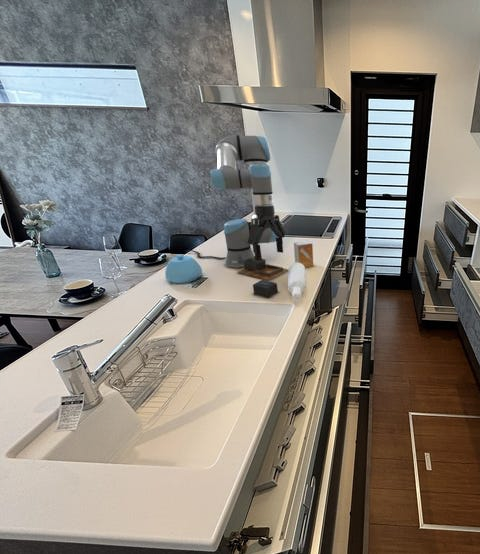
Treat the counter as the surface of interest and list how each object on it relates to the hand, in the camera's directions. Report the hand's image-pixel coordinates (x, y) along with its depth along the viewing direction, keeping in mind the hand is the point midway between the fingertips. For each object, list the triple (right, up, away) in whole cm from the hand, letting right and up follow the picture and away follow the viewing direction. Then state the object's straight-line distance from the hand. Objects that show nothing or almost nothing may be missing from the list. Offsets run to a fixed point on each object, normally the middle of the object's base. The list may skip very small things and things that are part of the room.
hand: (269, 256), depth 129 cm
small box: (+7, -3, +35) cm, 35 cm away
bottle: (+7, -5, +19) cm, 21 cm away
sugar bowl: (-46, -9, +16) cm, 49 cm away
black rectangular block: (-3, -16, +3) cm, 17 cm away
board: (-12, -6, +25) cm, 28 cm away
